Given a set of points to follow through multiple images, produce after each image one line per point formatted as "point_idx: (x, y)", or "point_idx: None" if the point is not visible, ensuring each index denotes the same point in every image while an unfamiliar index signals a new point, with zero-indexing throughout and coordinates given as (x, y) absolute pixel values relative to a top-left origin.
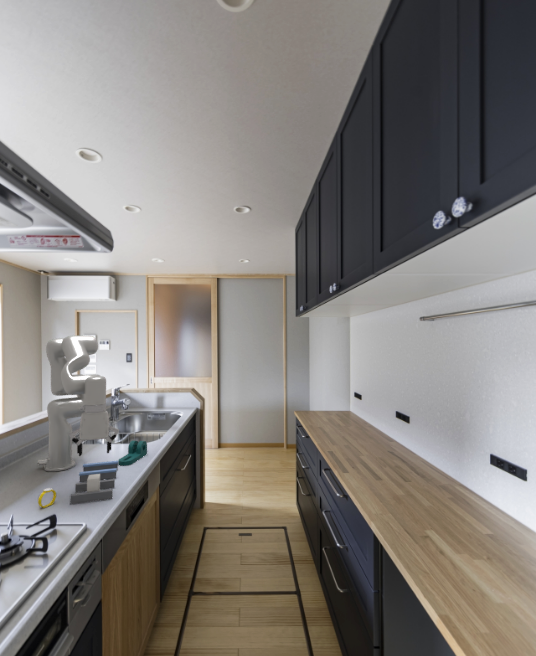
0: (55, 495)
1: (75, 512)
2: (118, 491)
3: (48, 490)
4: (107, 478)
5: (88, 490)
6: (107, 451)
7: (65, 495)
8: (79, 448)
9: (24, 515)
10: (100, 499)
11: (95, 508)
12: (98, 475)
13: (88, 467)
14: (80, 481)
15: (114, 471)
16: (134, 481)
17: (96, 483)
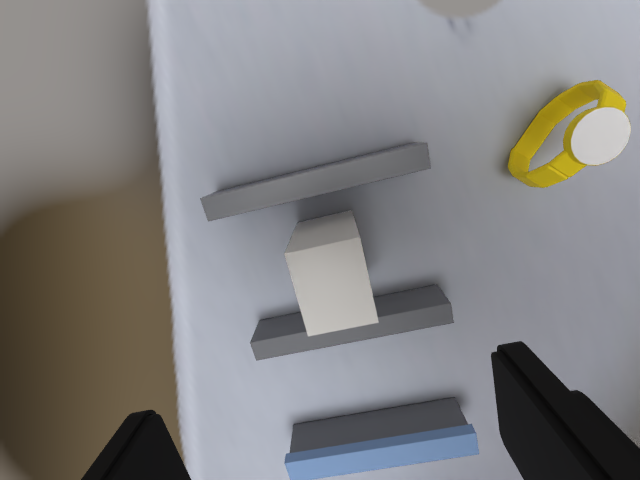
0: (522, 172)
1: (349, 35)
2: (222, 280)
3: (591, 115)
4: (330, 422)
5: (346, 220)
6: (132, 426)
7: (476, 259)
8: (602, 436)
9: (622, 21)
10: (269, 178)
11: (259, 79)
12: (308, 308)
13: None
14: (452, 402)
15: (295, 453)
16: (190, 384)
17: (302, 240)
